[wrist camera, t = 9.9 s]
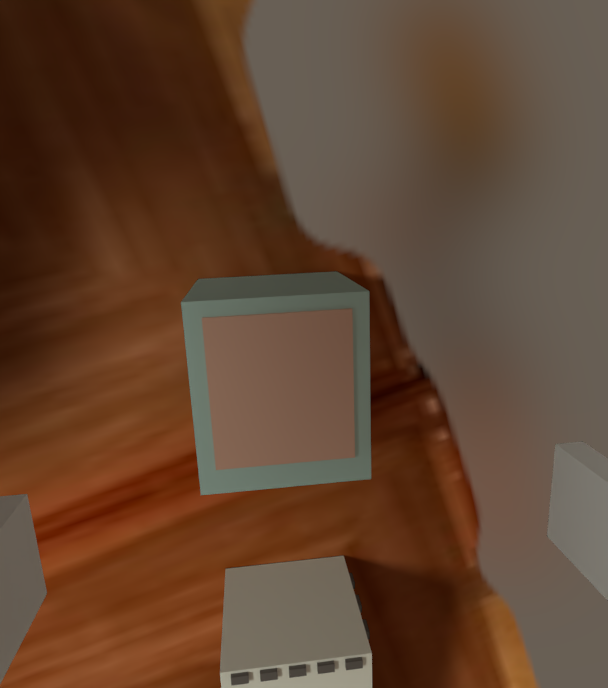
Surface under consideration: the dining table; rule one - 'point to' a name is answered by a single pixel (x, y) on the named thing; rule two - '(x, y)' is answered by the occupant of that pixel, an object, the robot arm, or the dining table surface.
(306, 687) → the cream rectangular block
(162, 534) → the dining table surface
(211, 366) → the retro monitor box
